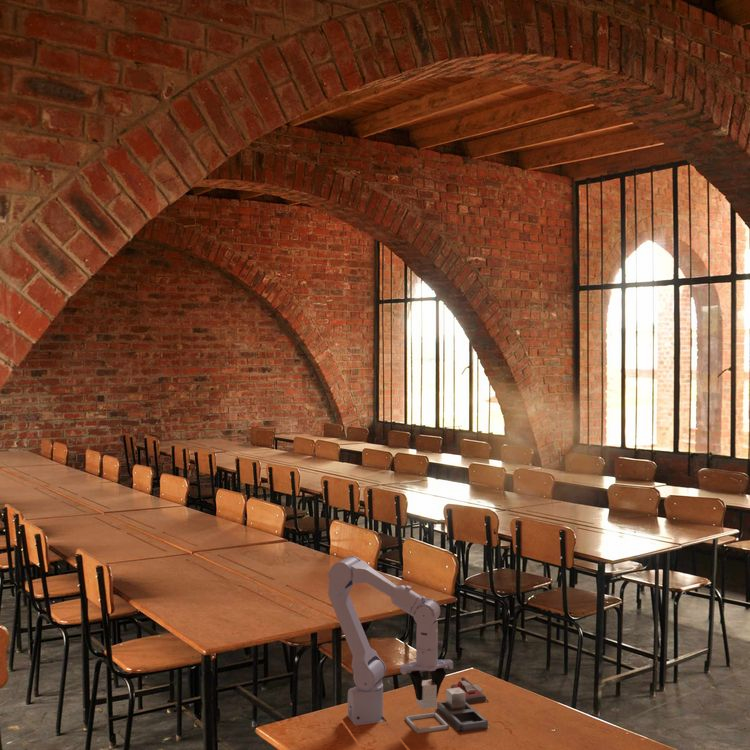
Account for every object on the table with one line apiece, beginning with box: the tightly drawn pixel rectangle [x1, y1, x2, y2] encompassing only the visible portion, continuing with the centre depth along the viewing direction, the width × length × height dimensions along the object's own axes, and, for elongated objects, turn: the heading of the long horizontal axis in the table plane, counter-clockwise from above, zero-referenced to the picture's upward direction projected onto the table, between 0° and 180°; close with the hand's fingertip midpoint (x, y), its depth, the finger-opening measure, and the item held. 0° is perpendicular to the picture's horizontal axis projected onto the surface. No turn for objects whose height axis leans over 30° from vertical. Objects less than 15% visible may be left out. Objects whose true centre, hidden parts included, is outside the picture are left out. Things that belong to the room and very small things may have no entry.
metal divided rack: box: [434, 700, 490, 733], centre depth 225 cm, size 9×16×3 cm, turn 19°
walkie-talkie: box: [450, 676, 490, 704], centre depth 245 cm, size 9×4×20 cm
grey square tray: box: [404, 711, 450, 734], centre depth 222 cm, size 9×9×2 cm
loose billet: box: [416, 679, 438, 710], centre depth 222 cm, size 4×4×6 cm
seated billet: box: [445, 687, 466, 712], centre depth 229 cm, size 4×4×6 cm
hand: (426, 697), depth 222 cm, fingers closed on loose billet, 4 cm apart
